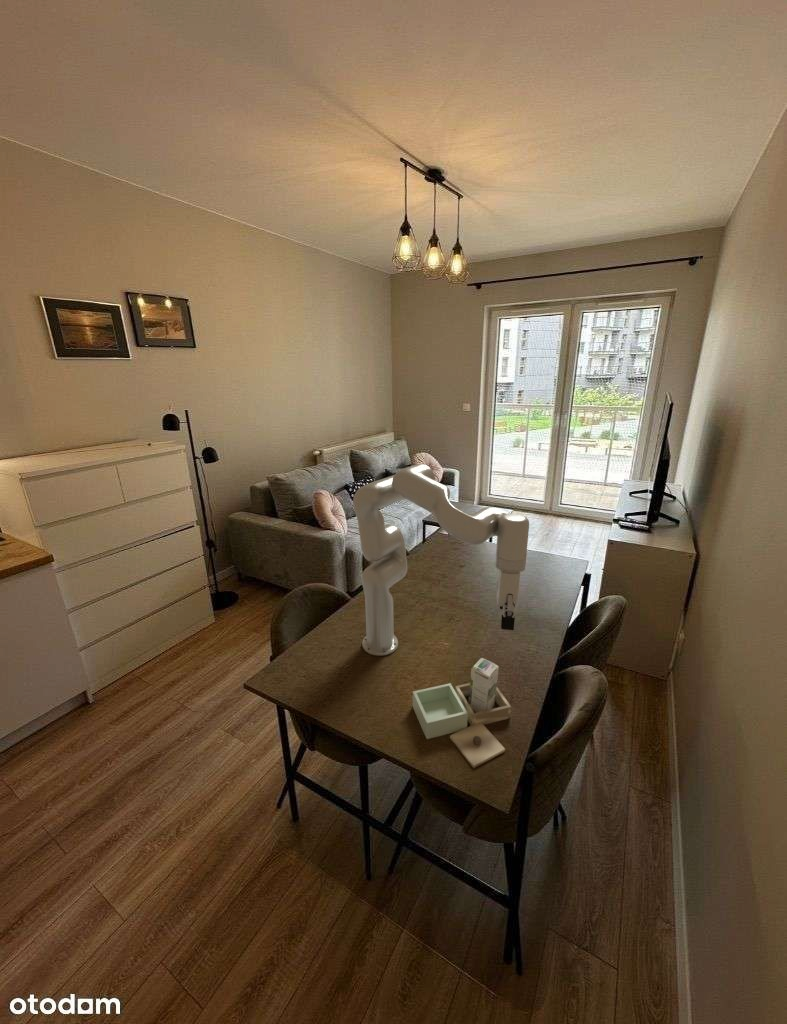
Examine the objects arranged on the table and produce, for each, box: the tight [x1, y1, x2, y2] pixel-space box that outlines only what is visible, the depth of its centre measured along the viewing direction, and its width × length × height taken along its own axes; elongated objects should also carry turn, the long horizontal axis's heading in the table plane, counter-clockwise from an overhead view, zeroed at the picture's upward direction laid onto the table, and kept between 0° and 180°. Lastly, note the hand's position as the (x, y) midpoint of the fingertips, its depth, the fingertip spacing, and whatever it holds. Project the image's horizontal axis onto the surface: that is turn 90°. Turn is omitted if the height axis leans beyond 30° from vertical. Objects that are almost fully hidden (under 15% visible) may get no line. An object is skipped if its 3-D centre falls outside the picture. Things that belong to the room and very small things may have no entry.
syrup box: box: [467, 657, 500, 713], centre depth 118 cm, size 6×6×14 cm
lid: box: [449, 723, 506, 769], centre depth 108 cm, size 10×10×2 cm
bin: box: [412, 682, 468, 740], centre depth 116 cm, size 12×12×6 cm
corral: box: [454, 682, 512, 726], centre depth 119 cm, size 12×12×4 cm
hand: (506, 618), depth 113 cm, fingers open, 9 cm apart
